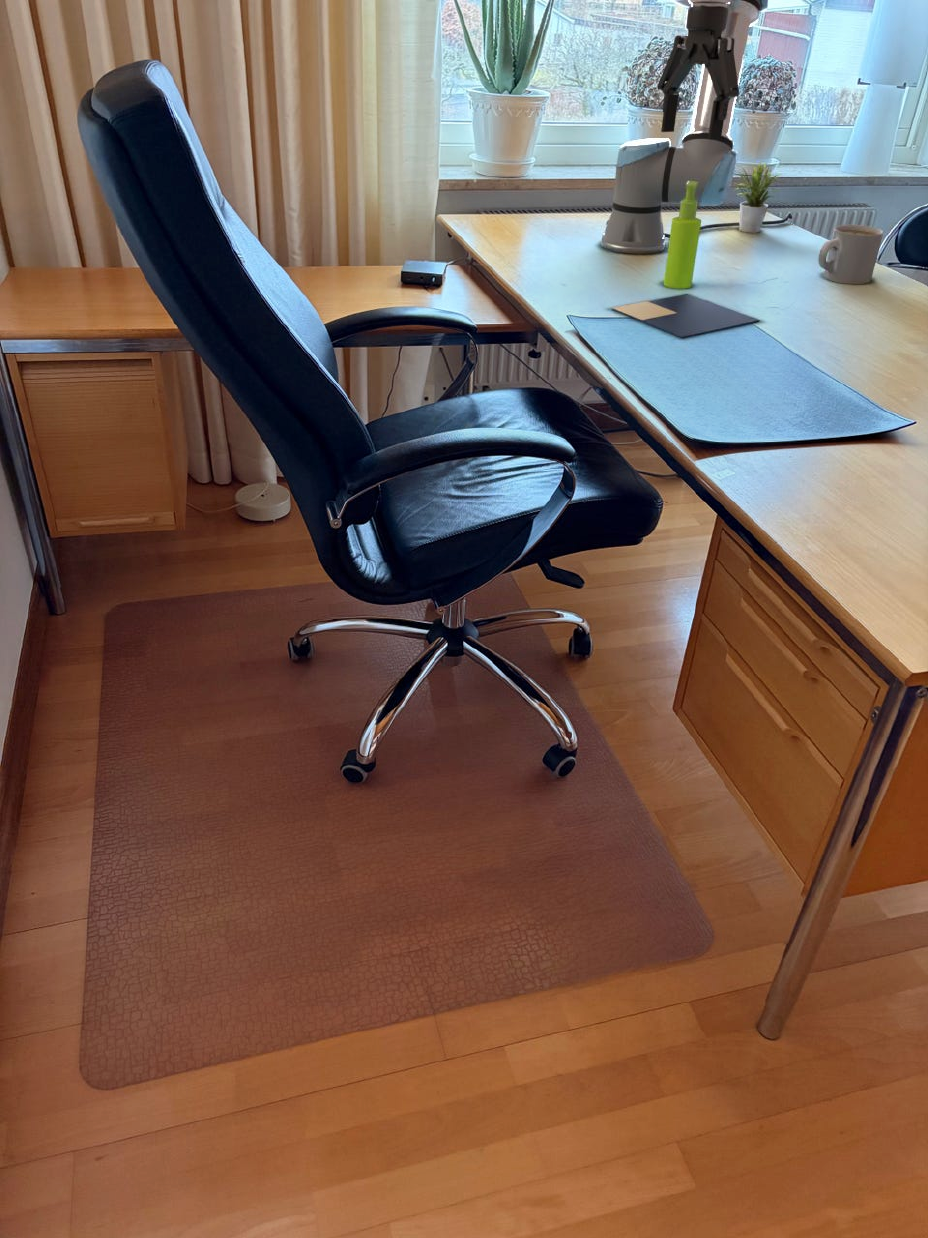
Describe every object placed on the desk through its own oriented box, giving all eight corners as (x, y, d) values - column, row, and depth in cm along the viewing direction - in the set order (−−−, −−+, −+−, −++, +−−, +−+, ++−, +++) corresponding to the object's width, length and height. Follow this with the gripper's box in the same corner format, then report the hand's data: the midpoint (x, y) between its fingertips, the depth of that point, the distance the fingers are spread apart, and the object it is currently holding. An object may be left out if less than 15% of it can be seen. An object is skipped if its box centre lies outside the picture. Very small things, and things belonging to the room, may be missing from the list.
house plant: (717, 221, 246) (728, 154, 236) (770, 223, 244) (783, 156, 235) (722, 233, 234) (733, 163, 225) (777, 236, 233) (791, 165, 223)
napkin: (686, 295, 189) (687, 293, 189) (759, 321, 176) (759, 319, 176) (611, 309, 181) (611, 307, 181) (681, 338, 167) (682, 336, 167)
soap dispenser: (693, 281, 198) (709, 180, 186) (689, 289, 193) (705, 186, 181) (666, 278, 199) (680, 178, 188) (661, 286, 194) (675, 184, 183)
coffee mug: (857, 271, 206) (869, 223, 201) (879, 283, 198) (892, 234, 193) (801, 272, 205) (811, 225, 199) (820, 284, 197) (832, 235, 191)
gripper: (649, 4, 175) (635, 129, 187) (742, 5, 158) (720, 143, 169) (679, 5, 179) (663, 128, 190) (773, 6, 161) (750, 141, 173)
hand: (690, 135), depth 180 cm, fingers open, 13 cm apart
